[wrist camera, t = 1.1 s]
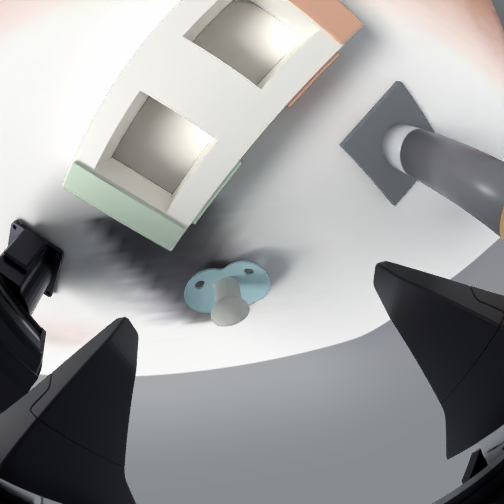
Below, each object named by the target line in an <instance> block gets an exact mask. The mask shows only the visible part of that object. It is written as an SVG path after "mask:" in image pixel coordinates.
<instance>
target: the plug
mask: <svg viewBox="0 0 504 504" xmlns="http://www.w3.org/2000/svg"><path fill="white" fill-rule="evenodd" d="M382 152H383V155H384V158H385V160H386V161H387V163H388V164H390V165H391V166H392V167H394V168H396V169H398V170H400V171H402V172H404V173H406V174H407V175H409V176H411V177H413V178H415V179H416V180H418V181H420V182H421V183H423V184H425V185H427V186H428V187H430V188H432V189H433V190H435V191H436V192H438V193H440V194H441V195H443V196H444V197H446V198H447V199H449V200H451V201H452V202H454V203H455V204H457V205H458V206H460V207H461V208H462V209H464V210H465V211H467V212H468V213H470V214H471V215H472V216H474V217H475V218H477V219H478V220H479V221H481V222H482V223H483V224H485V225H486V226H487V227H489V228H490V229H491V230H492V231H494V232H495V233H496V234H498V235H499V236H500V237H501V238H502V240H504V162H503V161H501V160H499V159H497V158H495V157H493V156H490V155H488V154H486V153H484V152H482V151H479V150H477V149H475V148H472V147H470V146H468V145H465V144H463V143H460V142H458V141H455V140H452V139H450V138H447V137H444V136H441V135H439V134H436V133H433V132H430V131H427V130H423V129H420V128H417V127H414V126H410V125H407V124H403V123H397V124H394V125H392V126H391V127H390V128H389V129H388V130H387V131H386V133H385V135H384V137H383V141H382Z"/></svg>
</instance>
